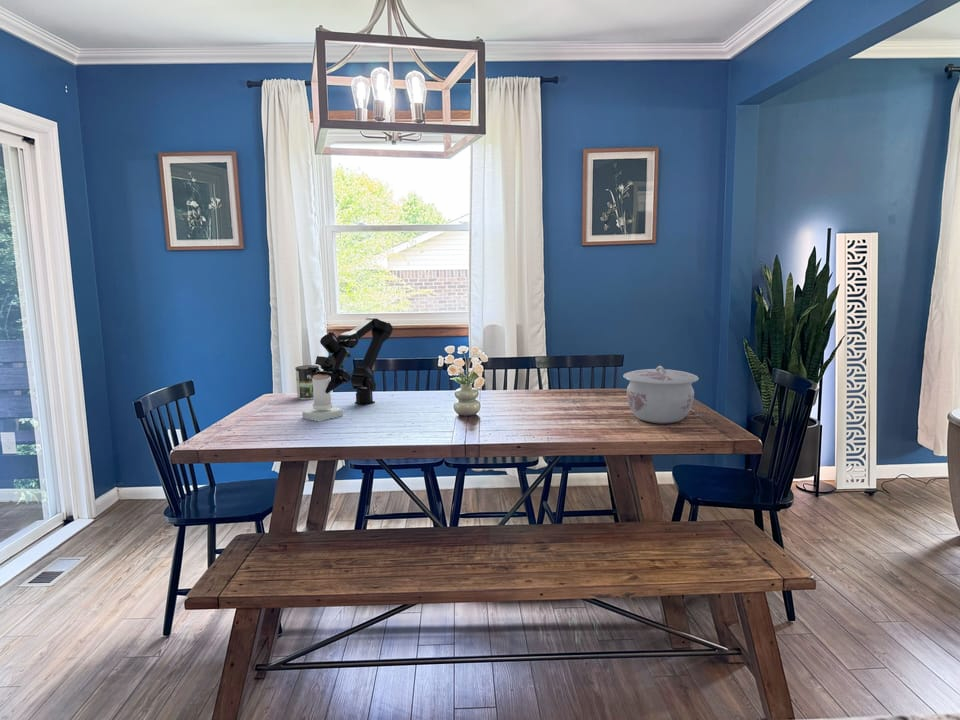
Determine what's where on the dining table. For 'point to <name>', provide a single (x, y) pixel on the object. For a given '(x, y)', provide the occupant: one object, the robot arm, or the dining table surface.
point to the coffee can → (304, 382)
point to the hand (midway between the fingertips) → (319, 392)
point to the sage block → (322, 414)
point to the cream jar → (321, 392)
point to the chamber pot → (660, 394)
